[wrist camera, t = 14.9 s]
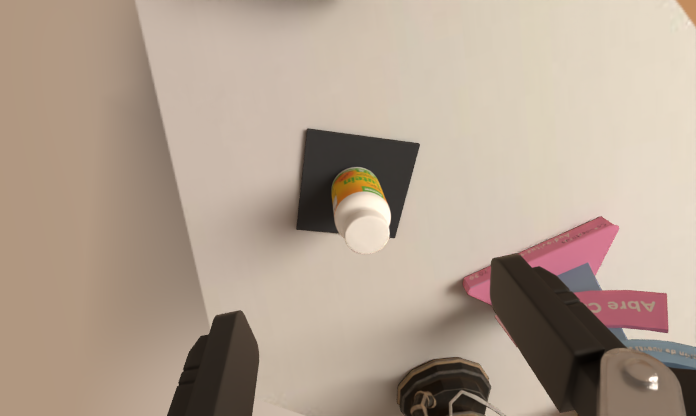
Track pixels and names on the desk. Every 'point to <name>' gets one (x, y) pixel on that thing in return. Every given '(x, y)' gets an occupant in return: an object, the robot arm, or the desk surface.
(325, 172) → the mat
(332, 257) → the desk surface
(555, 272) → the trophy
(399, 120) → the desk surface
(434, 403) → the lantern
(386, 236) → the supplement bottle
